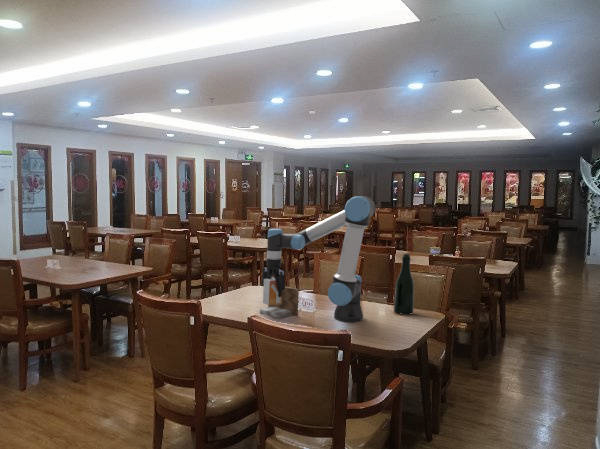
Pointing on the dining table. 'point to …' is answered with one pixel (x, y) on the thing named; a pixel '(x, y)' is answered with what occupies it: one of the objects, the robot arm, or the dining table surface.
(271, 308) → the wall board
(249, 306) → the dining table surface
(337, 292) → the robot arm
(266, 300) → the small box
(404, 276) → the beer bottle
